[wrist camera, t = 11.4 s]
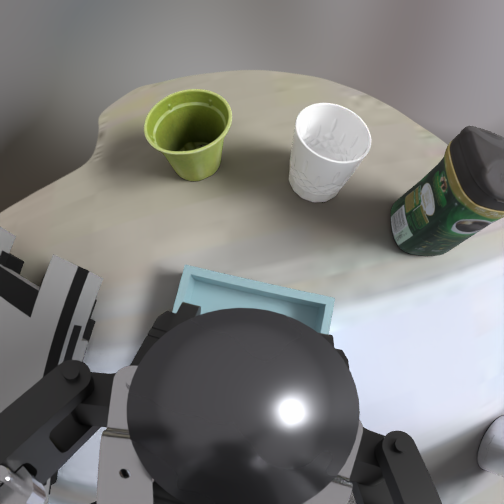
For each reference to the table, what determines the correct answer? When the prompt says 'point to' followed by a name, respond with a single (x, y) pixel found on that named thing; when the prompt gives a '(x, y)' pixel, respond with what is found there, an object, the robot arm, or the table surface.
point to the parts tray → (252, 297)
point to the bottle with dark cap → (242, 409)
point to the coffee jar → (453, 196)
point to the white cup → (326, 150)
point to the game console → (41, 322)
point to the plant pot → (190, 131)
